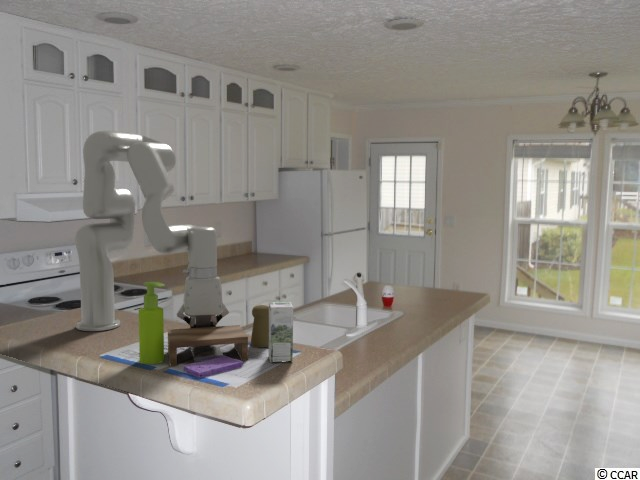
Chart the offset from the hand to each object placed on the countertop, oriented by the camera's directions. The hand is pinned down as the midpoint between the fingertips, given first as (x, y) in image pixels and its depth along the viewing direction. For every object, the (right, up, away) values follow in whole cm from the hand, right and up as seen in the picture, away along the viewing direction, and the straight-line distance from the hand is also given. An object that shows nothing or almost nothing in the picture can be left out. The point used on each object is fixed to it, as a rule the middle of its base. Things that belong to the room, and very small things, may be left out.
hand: (203, 338), depth 155 cm
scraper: (+2, -3, -5) cm, 6 cm away
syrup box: (+22, -4, -10) cm, 24 cm away
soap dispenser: (-10, -4, -12) cm, 16 cm away
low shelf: (+3, -3, -8) cm, 9 cm away
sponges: (+6, -5, -17) cm, 19 cm away
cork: (+16, -2, +3) cm, 16 cm away
